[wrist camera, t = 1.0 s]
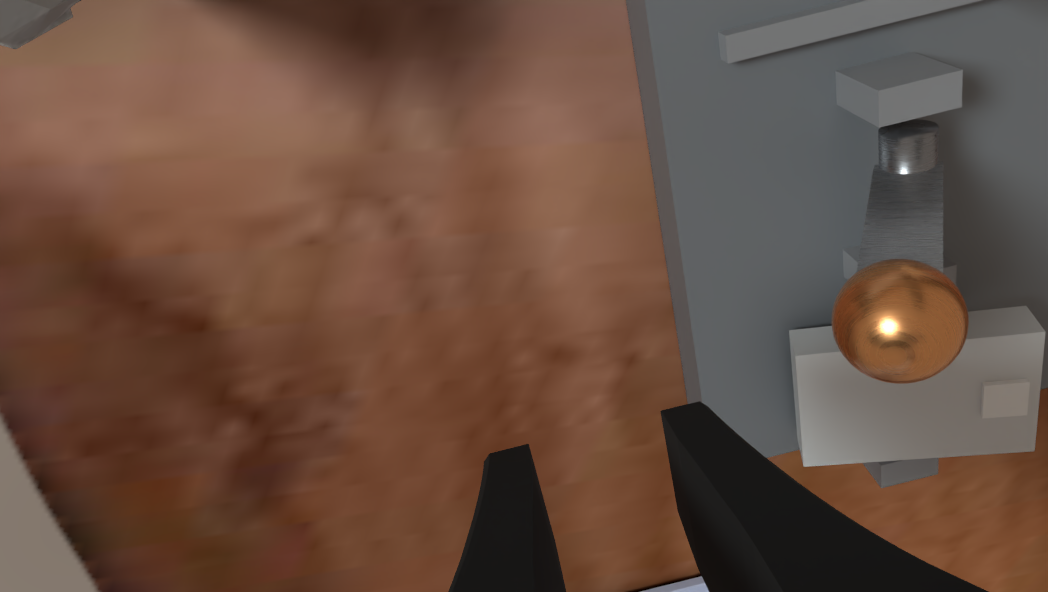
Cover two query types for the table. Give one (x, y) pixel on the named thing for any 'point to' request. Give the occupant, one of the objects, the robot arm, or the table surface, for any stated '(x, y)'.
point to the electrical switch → (30, 19)
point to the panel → (831, 172)
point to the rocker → (922, 397)
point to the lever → (902, 268)
